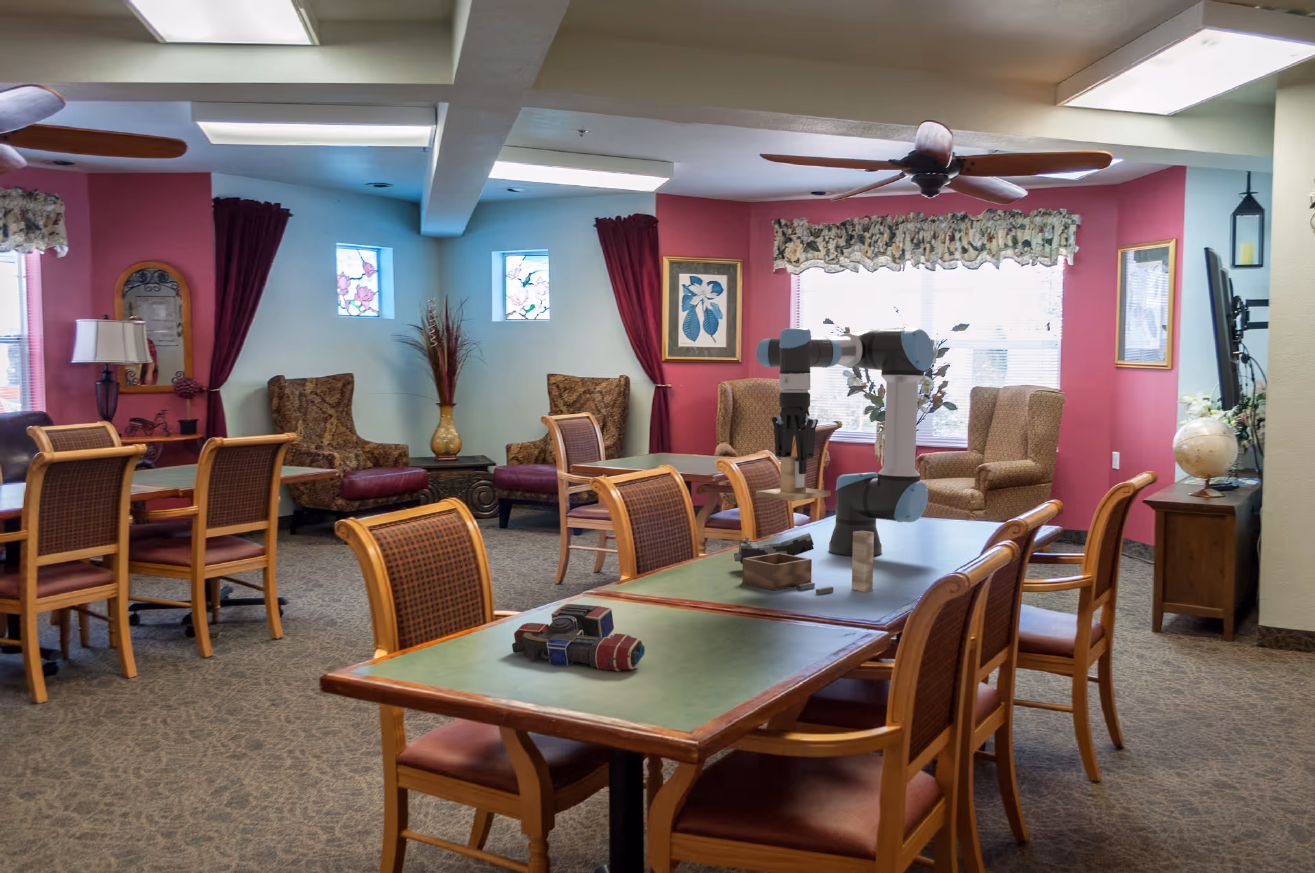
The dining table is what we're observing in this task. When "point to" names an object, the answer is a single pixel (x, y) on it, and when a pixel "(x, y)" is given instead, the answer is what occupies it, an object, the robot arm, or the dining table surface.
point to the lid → (791, 485)
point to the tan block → (862, 561)
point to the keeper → (812, 585)
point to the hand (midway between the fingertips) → (793, 486)
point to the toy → (774, 547)
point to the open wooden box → (776, 571)
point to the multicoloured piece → (579, 639)
